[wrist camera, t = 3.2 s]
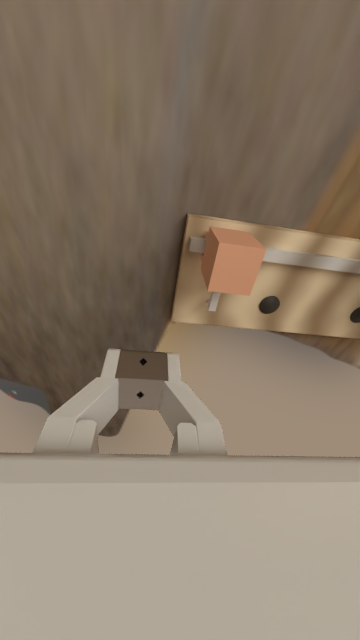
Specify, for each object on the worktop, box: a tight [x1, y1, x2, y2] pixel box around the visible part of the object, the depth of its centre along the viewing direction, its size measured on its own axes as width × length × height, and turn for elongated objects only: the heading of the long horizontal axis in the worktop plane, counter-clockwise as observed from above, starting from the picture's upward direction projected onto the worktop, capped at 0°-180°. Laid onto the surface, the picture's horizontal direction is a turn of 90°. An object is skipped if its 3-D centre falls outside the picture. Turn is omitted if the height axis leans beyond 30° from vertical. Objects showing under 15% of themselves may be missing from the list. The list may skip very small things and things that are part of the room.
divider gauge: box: [171, 213, 360, 339], centre depth 28 cm, size 28×13×8 cm, turn 81°
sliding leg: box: [201, 226, 266, 311], centre depth 25 cm, size 4×9×6 cm, turn 171°
